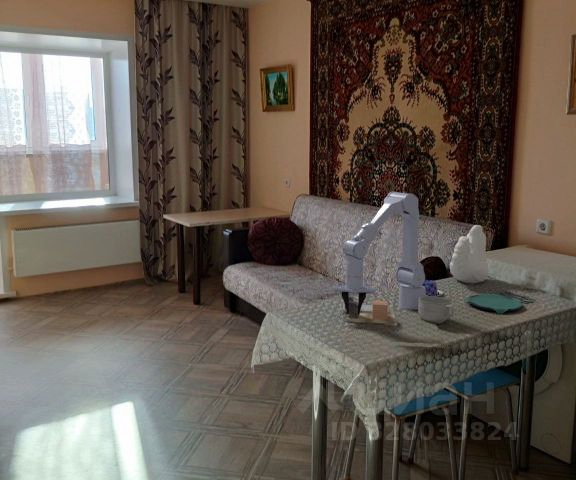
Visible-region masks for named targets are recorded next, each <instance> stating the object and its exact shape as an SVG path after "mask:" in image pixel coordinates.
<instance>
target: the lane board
mask: <svg viewBox="0 0 576 480" xmlns="http://www.w3.org/2000/svg"><path fill="white" fill-rule="evenodd" d="M388 310H389V314H394V318H395V324H388V323H376V325H379V324H380V325H385V326H398V322H397V320H396V316H395V311H394V307H392V306H391V307H390V306H388ZM342 313H343V312H342ZM342 315H343V319H344V322H345V323H347V324H353V322H347V318H346V315H347V313H343V314H342ZM355 323H356V324H361V322H354V324H355ZM362 324H365V323H364V322H362Z"/></svg>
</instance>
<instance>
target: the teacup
mask: <svg viewBox="0 0 576 480" xmlns="http://www.w3.org/2000/svg"><path fill="white" fill-rule="evenodd" d="M417 310H418V312H417V313H418V316H419V317H420V318H421V319H422V320H424V321H427V322H430V323H431V322H432V323H435V325H436V324H442V323H444V322H445V321H447V320H448V319H450V318H451V317H453V316H454V314H455V307H454V306H453V305H452V301H451V300H450V299H448V298H446V297H442V296H436V295H435V296H422V297H419V307H418V309H417Z"/></svg>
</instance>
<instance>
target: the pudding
mask: <svg viewBox="0 0 576 480" xmlns="http://www.w3.org/2000/svg"><path fill="white" fill-rule="evenodd" d="M422 286H424V287H425V290H426V295H428V296H429V295H431V296H434V295H435V296H436V295H437V296H436V297H441V296H442V295H443V294H444V292H443V291H442V290H439V289H438V288H437V283H436V281H435V280H432V279H431V280H430V279H425V281H424V283H423V285H422ZM438 292H439V295H438Z"/></svg>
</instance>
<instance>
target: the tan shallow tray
mask: <svg viewBox="0 0 576 480" xmlns="http://www.w3.org/2000/svg"><path fill="white" fill-rule="evenodd" d="M394 315H395V313H394V314H388V318H387V320H383V319H372V314H370V313H360V315H358V301H354V300H353V301H349V314H346V319H347V320H346V321H347V322H346V323H348V322H349V323H350V322H352V323H355V322H357V323H359V322H360V323H363V322H364V323H363V324H384V323H388V324H395V319H396V317H395V318H394Z"/></svg>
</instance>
